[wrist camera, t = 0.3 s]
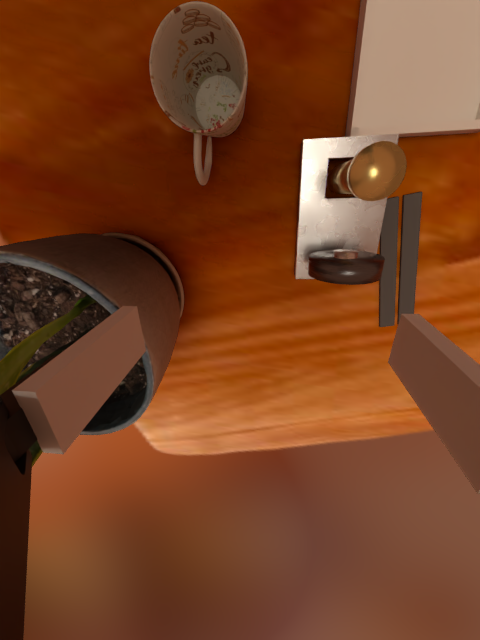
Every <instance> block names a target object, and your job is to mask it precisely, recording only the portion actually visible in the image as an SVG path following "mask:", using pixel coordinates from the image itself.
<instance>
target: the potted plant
mask: <svg viewBox="0 0 480 640" xmlns="http://www.w3.org/2000/svg"><path fill="white" fill-rule="evenodd" d="M122 306H137V309H138V314H139V319H140V324H141V329H142V334H143V339H144V343H145V348H146V351H145V353H144V354H143V355H142V356H141V358H140V359H139V360H138V361H137V363H136V364H135V365H134V366H133V368H132V369H131V370H130V371H129V373H128V374H127V375H126V376H125V378H124V379H123V380H122V381H121V383H120V384H119V385H118V386H117V388H116V389H115V390H114V391H113V393H112V394H111V395H110V396H109V398H108V399H107V400H106V401H105V403H104V404H103V405H102V406H101V408H100V409H99V410H98V411H97V413H96V414H95V415H94V417H93V418H92V419H91V420H90V422H89V423H88V424H87V425H86V427H85V428H84V429H83V430H82V432H81V433H80V435H101V434H108V433H112V432H115V431H118V430H121V429H124V428H126V427H128V426H129V425H131V424H133V423H134V422H135V421H137V420H138V419H139V418H140V417H141V416H142V414H143V413H144V412H145V410H146V409H147V407H148V406H149V404H150V402H151V400H152V398H153V396H154V395H155V393H156V391H157V388H158V386H159V384H160V382H161V380H162V378H163V376H164V373H165V371H166V369H167V367H168V364H169V362H170V359H171V355H172V352H173V349H174V346H175V342H176V339H177V335H178V329H179V323H180V318H181V316H182V312H183V307H184V291H183V286H182V283H181V280H180V277H179V275H178V273H177V271H176V269H175V268H174V266H173V265H172V263H171V262H170V260H169V259H168V258H167V257H166V256H165V255H164V254H163V253H162V252H161V251H160V250H159V249H158V248H157V247H155V246H153V245H152V244H150V243H148V242H147V241H145V240H143V239H142V238H140V237H139V236H135V235H130V234H123V233H113V232H111V233H105V234H101V235H98V234H72V235H63V236H55V237H49V238H42V239H37V240H31V241H24V242H18V243H14V244H9V245H4V246H0V395H1V394H2V393H4V392H5V391H6V390H8V389H9V388H10V387H12V386H13V385H14V384H16V383H17V382H18V381H20V380H21V379H23V378H24V377H25V376H27V375H28V374H31V372H32V371H33V370H35V369H36V368H37V367H40V365H41V364H43V363H44V362H45V361H47V360H48V359H49V358H51V357H53V356H55V355H57V354H59V353H61V352H63V351H64V350H66V349H67V348H68V347H70V346H71V345H72V344H74V343H75V342H76V341H78V340H79V339H80V338H81V337H83V336H84V335H85V334H87V333H88V332H89V331H91V330H92V329H93V328H95V327H96V326H97V325H99V324H100V323H101V322H102V321H104V320H105V319H106V318H108V317H109V316H110V315H112V314H113V313H114V312H116V311H117V310H118V309H120V308H121V307H122ZM29 450H30V452H31V455H32V466H33V465H34V464H35V462H36V461H37V459H38V458H39V456H40V455H41V453H42V452H43V451H42V449H41V447H40V445H39V443H38V441H36V442H35V443H34V444H33V445H32V446H31V447H30V448H29Z"/></svg>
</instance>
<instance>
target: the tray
mask: <svg viewBox="0 0 480 640" xmlns="http://www.w3.org/2000/svg"><path fill="white" fill-rule="evenodd" d="M477 132H480V0H361V4H360V13H359V21H358V30H357V39H356V47H355V56H354V65H353V74H352V82H351V91H350V100H349V108H348V117H347V126H346V135H345V137H354V136H370V135H387V134H399V137H415V136H431V135H448V134H465V133H477Z"/></svg>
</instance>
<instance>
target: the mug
mask: <svg viewBox="0 0 480 640" xmlns="http://www.w3.org/2000/svg"><path fill="white" fill-rule="evenodd" d="M149 65H150V78H151V83H152V87H153V91H154V94H155V96H156V99H157V101H158V103H159V105H160V107H161V108H162V110H163V111H164V113H165V114H166V115H167V116H168V118H169V119H170V120H171V121H172V122H174V123H175V124H176V125H177V126H179V127H180V128H182V129H184V130H186V131H188V132H191V133H194V168H195V173H196V177H197V180H198V182H199V183H200V185H205V184H206V183H207V182H208V179H209V176H210V170H211V165H212V137H225V136H228V135H230V134H231V133H233V132H234V131H235V130H236V129H237V127H238V126H239V124H240V123H241V120H242V118H243V114H244V109H245V100H246V90H247V80H248V64H247V57H246V51H245V48H244V44H243V41H242V38H241V36H240V34H239V32H238V30H237V28H236V26H235V25H234V23H233V22H232V21H231V19H230V18H229V17H228V16H227V15H226V14H225V13H224V12H223V11H221V10H220V9H219V8H217V7H215V6H213V5H211V4H209V3H205V2H198V1H194V2H188V3H184V4H182V5H180V6H178V7H176V8H175V9H173V10H172V11H171V12H170V13H169V14H167V16H166V17H165V18H164V19H163V21H162V22H161V24H160V25H159V27H158V29H157V31H156V33H155V36H154V39H153V42H152V46H151V51H150V61H149ZM202 135H206V136H208V138H207V147H206V157H205V167H204V172H203V169H202V160H201V150H202ZM211 136H212V137H211Z"/></svg>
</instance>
